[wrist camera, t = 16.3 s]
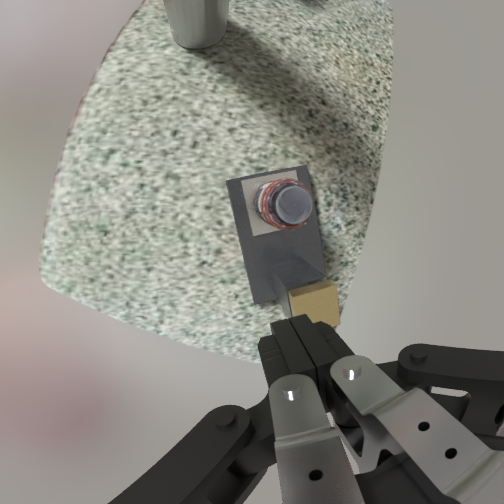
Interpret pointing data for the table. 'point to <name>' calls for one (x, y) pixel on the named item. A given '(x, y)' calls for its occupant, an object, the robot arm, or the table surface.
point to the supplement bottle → (284, 203)
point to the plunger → (316, 302)
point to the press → (275, 242)
